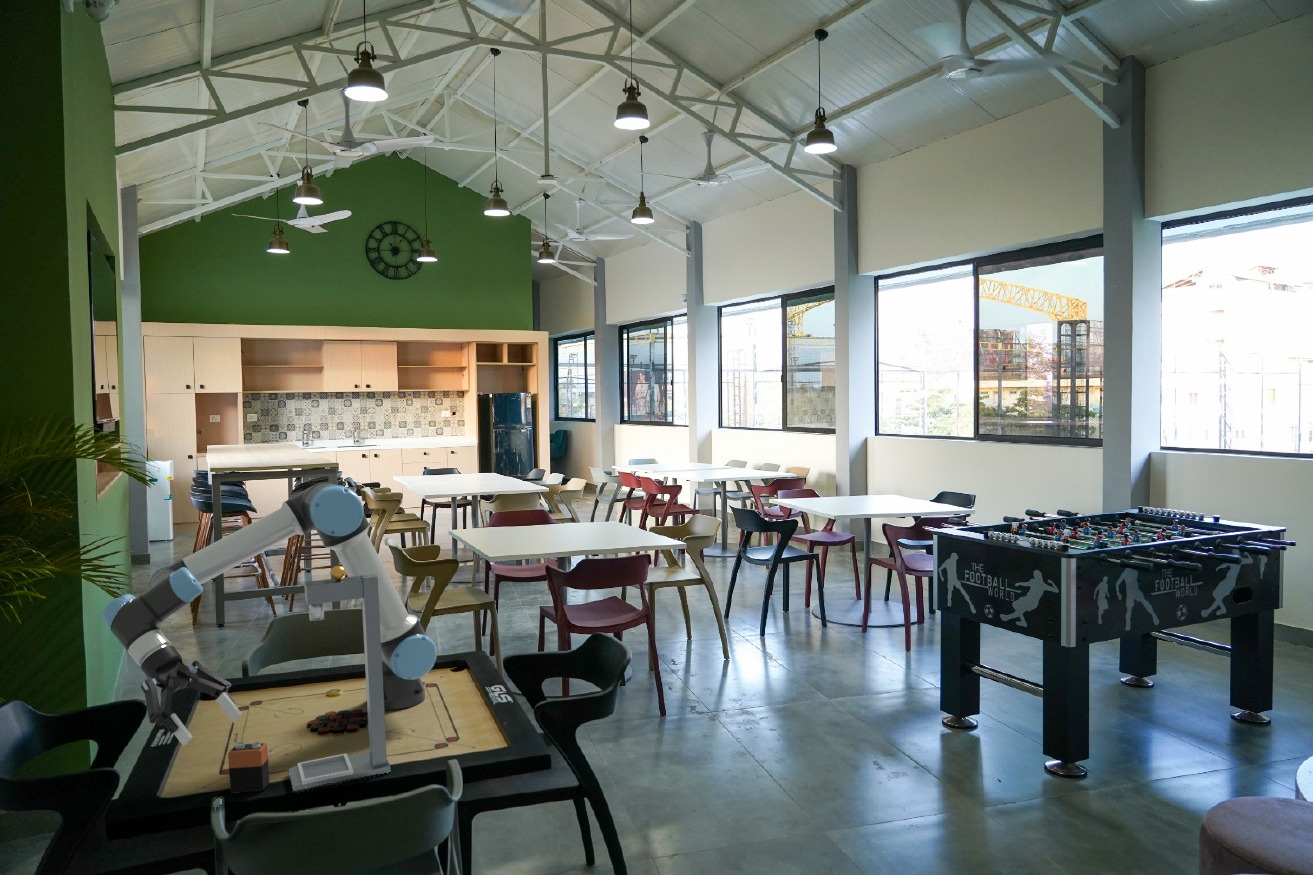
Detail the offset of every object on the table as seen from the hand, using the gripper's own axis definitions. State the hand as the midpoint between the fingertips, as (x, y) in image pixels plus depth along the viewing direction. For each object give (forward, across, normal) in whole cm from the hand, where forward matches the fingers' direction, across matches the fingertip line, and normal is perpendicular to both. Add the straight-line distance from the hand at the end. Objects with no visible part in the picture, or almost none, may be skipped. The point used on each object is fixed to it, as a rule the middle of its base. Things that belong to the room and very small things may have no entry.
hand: (213, 729), depth 196 cm
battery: (+15, -1, -3) cm, 15 cm away
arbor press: (+24, -12, +7) cm, 28 cm away
